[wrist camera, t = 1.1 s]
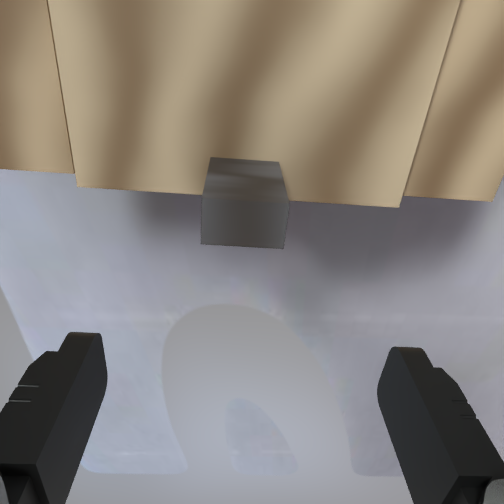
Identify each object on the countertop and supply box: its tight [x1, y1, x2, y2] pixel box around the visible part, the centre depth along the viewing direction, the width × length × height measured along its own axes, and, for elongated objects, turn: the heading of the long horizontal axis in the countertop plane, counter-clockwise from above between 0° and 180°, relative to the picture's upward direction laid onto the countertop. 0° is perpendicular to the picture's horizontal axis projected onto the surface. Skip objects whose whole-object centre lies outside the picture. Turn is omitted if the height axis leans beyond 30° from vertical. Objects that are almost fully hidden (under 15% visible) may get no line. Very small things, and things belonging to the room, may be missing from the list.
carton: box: [0, 0, 504, 202], centre depth 25 cm, size 33×18×12 cm, turn 85°
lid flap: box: [48, 0, 460, 249], centre depth 17 cm, size 20×18×7 cm
